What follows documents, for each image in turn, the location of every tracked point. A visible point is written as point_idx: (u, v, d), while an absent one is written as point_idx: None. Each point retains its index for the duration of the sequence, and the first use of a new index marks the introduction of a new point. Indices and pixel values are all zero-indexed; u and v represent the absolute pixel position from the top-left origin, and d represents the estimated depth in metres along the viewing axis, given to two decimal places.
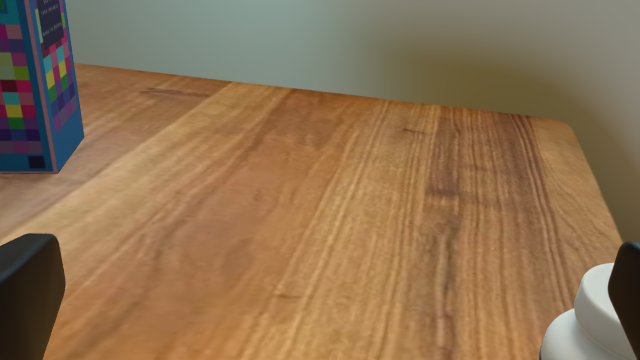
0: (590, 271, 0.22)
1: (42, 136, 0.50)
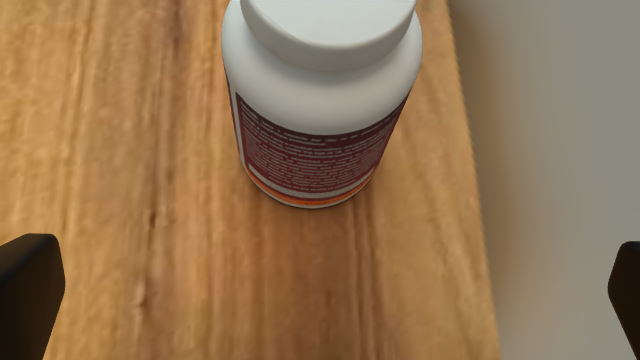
0: None
1: None
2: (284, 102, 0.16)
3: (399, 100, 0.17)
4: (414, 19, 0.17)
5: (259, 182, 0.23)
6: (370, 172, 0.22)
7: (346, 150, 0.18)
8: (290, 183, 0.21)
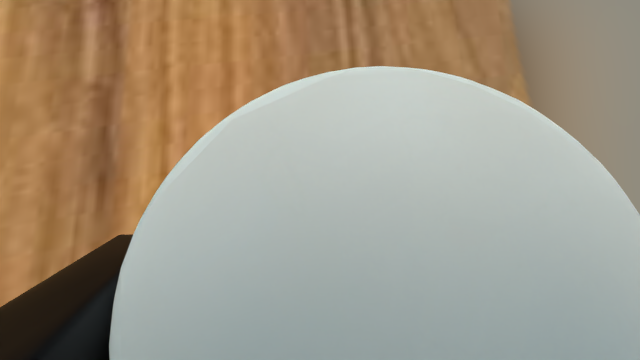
0: (170, 188, 0.05)
1: None
2: None
3: None
4: None
5: None
6: None
7: None
8: None
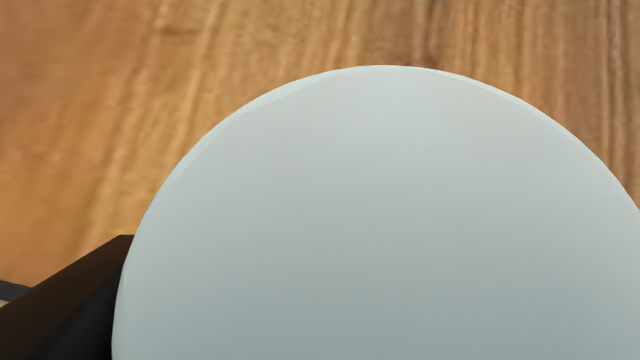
0: (172, 187, 0.05)
1: None
2: None
3: None
4: None
5: None
6: None
7: None
8: None
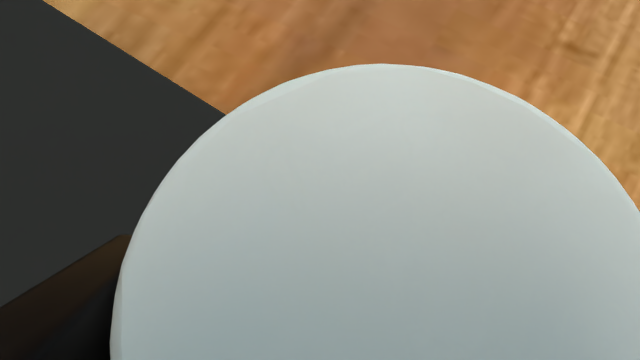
0: (171, 185, 0.05)
1: None
2: None
3: None
4: None
5: None
6: None
7: None
8: None
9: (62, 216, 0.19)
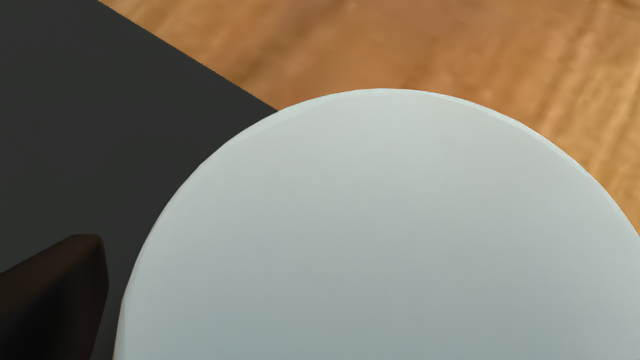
0: (173, 213, 0.05)
1: None
2: None
3: None
4: None
5: None
6: None
7: None
8: None
9: (16, 191, 0.16)
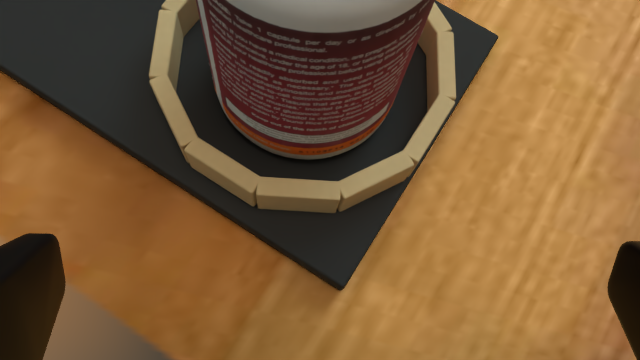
0: None
1: None
2: None
3: None
4: None
5: (241, 124, 0.18)
6: (383, 110, 0.17)
7: (355, 64, 0.13)
8: (279, 120, 0.16)
9: None
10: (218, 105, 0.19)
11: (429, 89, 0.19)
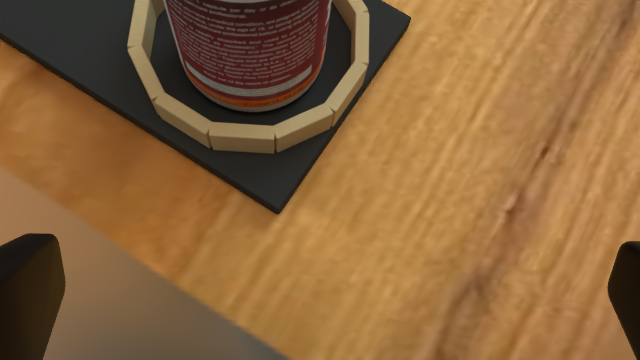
0: None
1: None
2: None
3: None
4: None
5: (198, 83, 0.23)
6: (308, 71, 0.22)
7: (270, 28, 0.18)
8: (224, 75, 0.21)
9: None
10: (183, 70, 0.24)
11: (351, 58, 0.24)
